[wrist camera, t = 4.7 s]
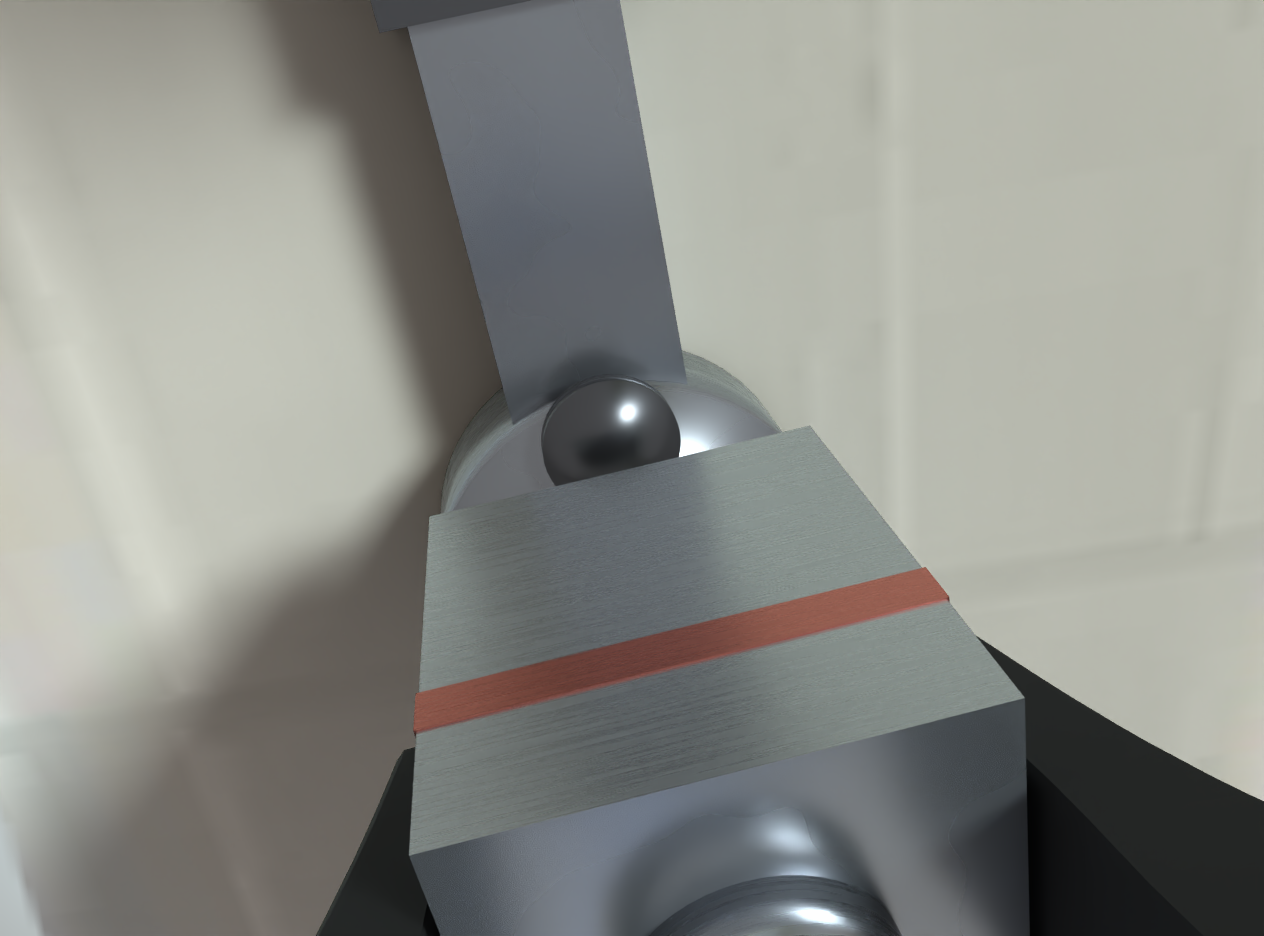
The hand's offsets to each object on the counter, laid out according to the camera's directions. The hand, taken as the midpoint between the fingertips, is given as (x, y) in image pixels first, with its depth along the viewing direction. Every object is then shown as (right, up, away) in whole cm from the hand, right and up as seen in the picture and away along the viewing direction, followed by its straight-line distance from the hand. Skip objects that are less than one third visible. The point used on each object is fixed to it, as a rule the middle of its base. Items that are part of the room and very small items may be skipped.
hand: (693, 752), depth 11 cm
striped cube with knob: (0, +1, +2) cm, 2 cm away
